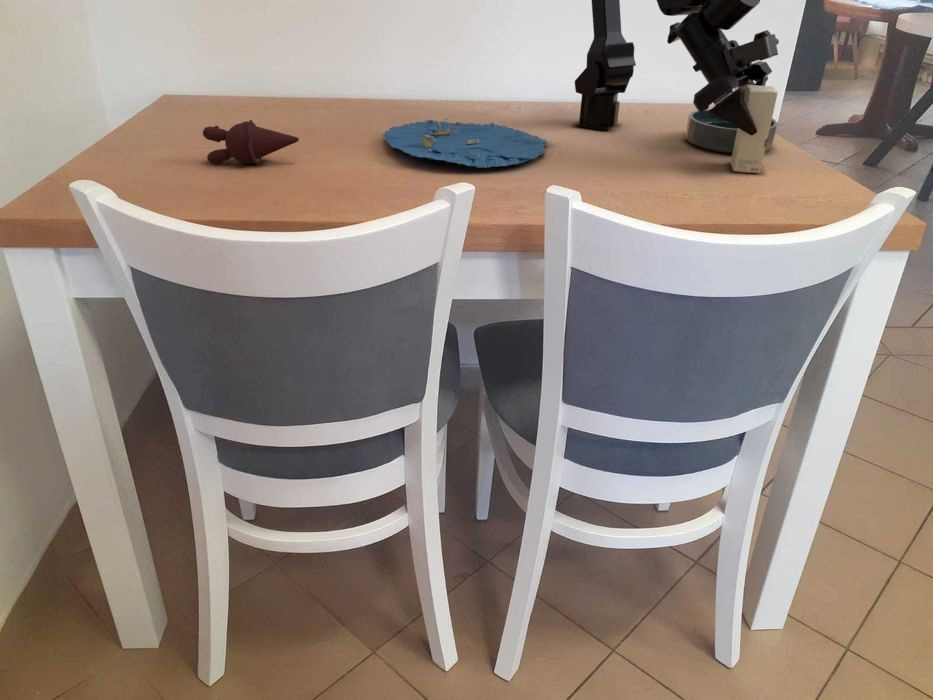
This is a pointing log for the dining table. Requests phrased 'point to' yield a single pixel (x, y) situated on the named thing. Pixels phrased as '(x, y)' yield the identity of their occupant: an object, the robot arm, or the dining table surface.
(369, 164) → the dining table surface
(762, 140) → the box
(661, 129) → the dining table surface
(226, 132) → the icecream
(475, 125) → the decorative plate
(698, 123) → the bowl
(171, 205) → the dining table surface
